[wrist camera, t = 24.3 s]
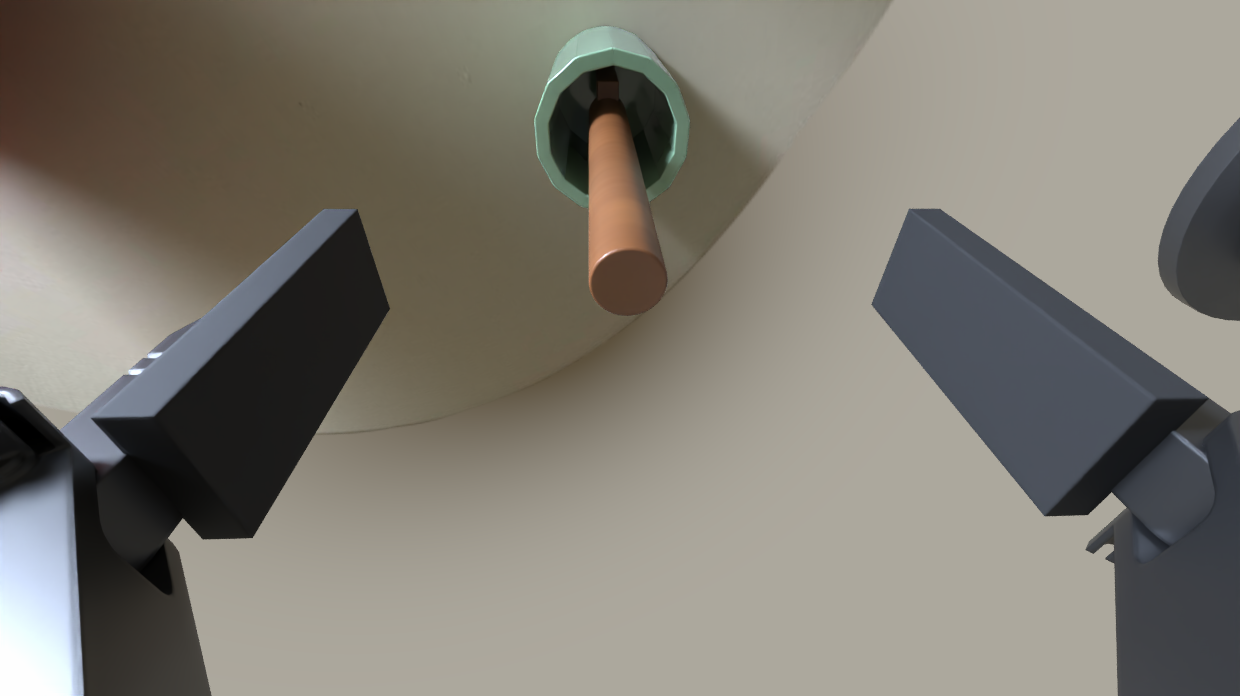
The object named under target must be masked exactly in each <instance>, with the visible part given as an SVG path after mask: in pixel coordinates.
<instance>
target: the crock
mask: <svg viewBox="0 0 1240 696" xmlns="http://www.w3.org/2000/svg"><path fill="white" fill-rule="evenodd" d="M610 66H615V68H616V72H617V76H618V80H619V99H620V100H621V101H622V102H623V104H624V106H625V109H626V113H627V117H628V121H629V125H630V129H631V133H632V137H633V141H634V145H635V149H636V153H637V157H638V161H639V165H640V169H641V173H642V176H643V180H644V184H645V188H646V192H647V196H648V200H649V202H650V201H652V200H653V199H654V198H656V197H657V196H658V195H660V194H661V193H662V192H664V191H665V190H666V189H668V188H669V186H671V184H672V182H673V180H674V178H675V177H676V175H677V173H678V171H679V170H680V168H681V166H682V164H683V162H684V161H685V159H686V156H687V149H688V139H689V129H690V118H689V115H688V112H687V109H686V106H685V103H684V100H683V97H682V95H681V92H680V89H679V86H678V85H677V83H676V81H675V80H674V79H673V77H672V76H671V75H670V73H669V72H668V71H667V69H666V68H665V67H664V65H663V64H662V62H661V61H660V60H659V58H658V57H657V56H656V54H655V53H654V52H653V51H652V50H651V49H650V48H649V47H648V46H647V45H646V44H645V43H644V42H643V41H642V40H641V39H640V38H639V37H638V36H637V35H635V34H634V33H631V32H629V31H627V30H624V29H622V28H618V27H612V26H598V27H594V28H590V29H587V30H585V31H583V32H580V33H579V34H577V35H576V36H574V37H573V38H572V39H571V40H569V42H568V43H567V44H566V45H565V46H564V47H563V48H562V50H561V51H559V52H558V54H557V56H556V59H555V62H554V64H553V67H552V70H551V73H550V75H549V78H548V81H547V84H546V87H545V89H544V92H543V95H542V98H541V101H540V104H539V107H538V109H537V112H536V115H535V120H534V126H535V137H536V149H537V156H538V159H539V161H540V163H541V164H542V166H543V168H544V170H545V172H546V173H547V175H548V177H549V179H550V180H551V182H552V184H553V186H554V187H555V188H556V189H557V190H559V191H560V192H562V193H563V194H564V195H566V196H567V197H568V198H570V199H571V200H572V201H574V202H575V203H576V204H578V205H579V206H581V207H584V208H588V209H589V108H590V105H591V103H592V102H593V100H594V99H595V98H596V70H598V69H602V68H606V67H610Z"/></svg>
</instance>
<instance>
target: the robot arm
mask: <svg viewBox="0 0 1240 696" xmlns="http://www.w3.org/2000/svg"><path fill="white" fill-rule="evenodd" d="M872 305H873V307H874V308H875V309H876V310H877V312H878V313H879V314H880V316H881V317H882V318H883V319H884V320H885V321H886V323H887V324H888V325H889V326H890V328H891V329H892V330H893V331H894V332H895V334H896V335H897V336H898V337H899V339H900V340H901V341H902V342H903V343H904V345H905V346H906V347H907V349H908V350H909V351H910V352H911V353H912V355H913V356H914V357H915V358H916V359H917V360H918V362H919V363H920V364H921V366H922V367H923V368H924V369H925V371H926V372H927V373H928V374H929V375H930V377H931V378H932V379H933V380H934V382H935V383H936V384H937V385H938V386H939V388H940V389H941V390H942V391H943V393H944V394H945V395H946V396H947V397H948V399H949V400H950V401H951V402H952V404H953V405H954V406H955V407H956V408H957V410H958V411H959V412H960V413H961V415H962V416H963V417H964V418H965V419H966V421H967V422H968V423H969V424H970V426H971V427H972V428H973V429H974V430H975V432H976V433H977V434H978V435H979V437H980V438H981V439H982V440H983V441H984V443H985V444H986V445H987V446H988V448H989V449H990V450H991V451H992V452H993V454H994V455H995V456H996V457H997V459H998V460H999V461H1000V462H1001V464H1002V465H1003V466H1004V467H1005V468H1006V470H1007V471H1008V472H1009V473H1010V475H1011V476H1012V477H1013V478H1014V479H1015V481H1016V482H1017V483H1018V484H1019V485H1020V487H1021V488H1022V489H1023V490H1024V492H1025V493H1026V494H1027V495H1028V496H1029V498H1030V499H1031V500H1032V501H1033V503H1034V504H1035V505H1036V506H1037V508H1038V509H1039V510H1040V511H1041V512H1042V514H1043V515H1044V516H1070V515H1071V516H1072V515H1088V514H1089V513H1090V512H1091V511H1092V510H1093V509H1094V508H1096V507H1097V506H1098V505H1099V504H1100V503H1101V502H1102V501H1103V500H1104V499H1105V498H1106V497H1107V496H1108V495H1109V494H1110V493H1111V492H1112V493H1113V494H1114V495H1115V496H1116V497H1117V498H1118V499H1119V500H1120V501H1121V502H1122V503H1123V504H1124V505H1125V506H1126V507H1127V508H1126V509H1125V510H1124V511H1123V512H1121V513H1120V514H1119V515H1118V516H1117V517H1116V518H1115V519H1114V520H1113V521H1111V522H1110V523H1109V524H1108V525H1107V526H1106V527H1105V528H1104V529H1103V530H1101V531H1100V532H1099V533H1098V534H1097V535H1096V536H1095V537H1094V538H1093V539H1091V540H1090V541H1089V543H1088V545H1087V548H1086V550H1087V551H1089V552H1091V553H1093V554H1094V553H1095V552H1096V551H1097V550H1098V549H1099V548H1101V547H1102V546H1103V545H1104V544H1113V545H1114V551H1113V552H1112V553H1111V554H1109V555H1108V556H1107V557H1106V560H1108V561H1110V562H1112V563H1114V564H1115V603H1116V638H1117V639H1116V640H1117V678H1118V696H1240V411H1237V412H1234V413H1229V412H1228V411H1227V410H1225V409H1224V408H1222V407H1221V406H1219V405H1218V404H1216V403H1215V402H1214V401H1212V400H1211V399H1209V398H1208V397H1207V396H1205V395H1204V394H1202V393H1201V392H1200V391H1198V390H1196V389H1195V388H1194V387H1193V386H1191V385H1189V384H1188V383H1187V382H1185V381H1184V380H1183V379H1181V378H1180V377H1178V376H1177V375H1175V374H1174V373H1173V372H1171V371H1170V370H1168V369H1167V368H1165V367H1164V366H1163V365H1161V364H1160V363H1158V362H1157V361H1156V360H1154V359H1153V358H1151V357H1149V356H1148V355H1147V354H1145V353H1144V352H1143V351H1141V350H1140V349H1138V348H1137V347H1136V346H1134V345H1133V344H1131V343H1130V342H1129V341H1127V340H1126V339H1124V338H1123V337H1121V336H1120V335H1119V334H1117V333H1116V332H1114V331H1113V330H1111V329H1110V328H1109V327H1107V326H1106V325H1104V324H1103V323H1101V322H1100V321H1099V320H1097V319H1096V318H1094V317H1093V316H1092V315H1090V314H1089V313H1087V312H1086V311H1084V310H1083V309H1082V308H1080V307H1079V306H1077V305H1076V304H1074V303H1073V302H1072V301H1070V300H1069V299H1067V298H1066V297H1065V296H1063V295H1062V294H1060V293H1059V292H1057V291H1056V290H1055V289H1053V288H1052V287H1050V286H1049V285H1047V284H1046V283H1045V282H1043V281H1042V280H1040V279H1039V278H1037V277H1036V276H1035V275H1033V274H1032V273H1030V272H1029V271H1028V270H1026V269H1025V268H1023V267H1022V266H1020V265H1019V264H1018V263H1016V262H1015V261H1013V260H1012V259H1010V258H1009V257H1007V256H1006V255H1005V254H1003V253H1002V252H1000V251H999V250H998V249H996V248H995V247H993V246H992V245H990V244H989V243H988V242H986V241H985V240H983V239H982V238H980V237H979V236H978V235H976V234H975V233H973V232H972V231H970V230H969V229H968V228H966V227H965V226H964V225H962V224H961V223H959V222H958V221H956V220H955V219H954V218H952V217H951V216H949V215H948V214H946V213H945V212H943V211H942V210H941V209H909V211H908V213H907V216H906V218H905V221H904V223H903V226H902V228H901V231H900V233H899V236H898V239H897V241H896V243H895V246H894V249H893V251H892V254H891V257H890V259H889V261H888V264H887V267H886V269H885V272H884V274H883V277H882V279H881V282H880V284H879V287H878V289H877V292H876V295H875V297H874V299H873V302H872ZM389 309H390V307H389V304H388V301H387V298H386V295H385V292H384V289H383V286H382V283H381V280H380V277H379V274H378V271H377V267H376V264H375V261H374V258H373V255H372V252H371V249H370V246H369V243H368V240H367V237H366V234H365V231H364V228H363V225H362V221H361V218H360V215H359V212H358V209H323V210H322V211H321V212H320V213H319V214H318V215H316V216H315V217H314V218H313V219H312V220H311V221H310V222H309V223H308V224H306V225H305V226H304V227H303V228H302V229H301V230H300V231H299V232H297V233H296V234H295V235H294V236H293V237H292V238H291V239H290V240H288V241H287V242H286V243H285V244H284V245H283V246H282V247H281V248H280V249H278V250H277V251H276V252H275V253H274V254H273V255H272V256H271V257H269V258H268V259H267V260H266V261H265V262H264V263H263V264H262V265H261V266H259V267H258V268H257V269H256V270H255V271H254V272H253V273H252V274H250V275H249V276H248V277H247V278H246V279H245V280H244V281H243V282H242V283H240V284H239V285H238V286H237V287H236V288H235V289H234V290H233V291H231V292H230V293H229V294H228V295H227V296H226V297H225V298H224V299H222V300H221V301H220V302H219V303H218V304H217V305H216V306H215V307H214V308H212V309H211V310H210V311H209V312H208V313H207V314H206V315H205V316H203V317H202V318H200V319H198V320H196V321H195V322H193V323H191V324H189V325H187V326H185V327H184V328H182V329H180V330H178V331H176V332H174V333H173V334H171V335H169V336H168V337H167V338H166V339H165V340H163V341H162V342H161V343H160V344H159V345H158V346H156V347H155V348H154V349H153V350H152V351H151V352H150V353H148V354H147V355H148V358H143V359H141V360H140V361H139V362H138V363H137V364H136V365H135V366H133V367H132V368H131V369H130V370H129V375H123V376H122V377H121V378H120V379H118V380H117V381H116V382H115V383H114V384H113V385H111V386H110V387H109V388H108V389H107V390H106V391H105V392H103V393H102V394H101V395H100V396H99V397H98V398H96V399H95V400H94V401H93V402H92V403H91V404H90V405H88V406H87V407H86V408H85V409H84V410H83V411H81V412H80V413H79V414H78V415H77V416H76V417H75V418H73V419H72V420H71V421H70V422H69V423H68V424H67V425H66V426H64V427H63V428H62V429H61V430H58V429H57V428H56V427H55V426H54V425H53V424H52V423H51V422H50V421H49V420H48V419H47V418H46V417H45V416H44V415H43V414H42V413H41V412H40V411H39V410H38V409H37V408H36V407H35V406H34V405H33V404H32V403H31V402H30V401H29V400H28V399H27V398H26V397H25V396H24V395H23V394H22V393H21V392H20V391H19V390H16V389H12V388H8V387H0V696H211V691H210V687H209V683H208V679H207V674H206V670H205V665H204V661H203V656H202V652H201V647H200V643H199V639H198V634H197V630H196V625H195V621H194V616H193V612H192V607H191V603H190V599H189V594H188V590H187V586H186V581H185V577H184V572H183V568H182V563H181V559H180V555H179V552H178V550H177V549H176V547H175V546H174V544H173V543H172V542H171V541H170V540H169V539H168V537H169V536H170V534H171V533H172V532H173V530H174V529H175V528H176V526H177V525H178V524H179V522H180V521H181V520H182V518H183V519H185V521H186V522H187V523H188V524H189V525H190V526H191V527H192V528H193V529H194V530H195V531H196V532H197V534H198V535H199V536H200V537H201V538H202V539H237V538H253V536H254V535H255V533H256V531H257V530H258V528H259V526H260V524H261V523H262V521H263V520H264V518H265V516H266V515H267V513H268V511H269V510H270V508H271V506H272V505H273V503H274V501H275V500H276V498H277V496H278V495H279V493H280V491H281V490H282V488H283V486H284V485H285V483H286V481H287V480H288V478H289V476H290V475H291V473H292V471H293V470H294V468H295V466H296V465H297V463H298V461H299V460H300V458H301V456H302V455H303V453H304V451H305V450H306V448H307V446H308V445H309V443H310V441H311V440H312V438H313V436H314V435H315V433H316V431H317V430H318V428H319V426H320V425H321V423H322V421H323V420H324V418H325V416H326V415H327V413H328V411H329V410H330V408H331V406H332V405H333V403H334V401H335V400H336V398H337V396H338V395H339V393H340V391H341V390H342V388H343V386H344V385H345V383H346V381H347V380H348V378H349V376H350V375H351V373H352V371H353V370H354V368H355V366H356V365H357V363H358V361H359V360H360V358H361V356H362V355H363V353H364V351H365V350H366V348H367V346H368V345H369V343H370V341H371V340H372V338H373V336H374V335H375V333H376V331H377V330H378V328H379V326H380V325H381V323H382V321H383V319H384V318H385V316H386V314H387V313H388V311H389Z"/></svg>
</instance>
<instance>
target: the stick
mask: <svg viewBox="0 0 1240 696" xmlns="http://www.w3.org/2000/svg"><path fill="white" fill-rule="evenodd" d="M667 282H668V277H667V272H666V268H665V264H664V260H663V256H662V252H661V248H660V244H659V240H658V236H657V232H656V228H655V224H654V220H653V216H652V212H651V208H650V204H649V200H648V196H647V192H646V188H645V184H644V180H643V176H642V173H641V169H640V165H639V161H638V157H637V153H636V149H635V145H634V141H633V137H632V133H631V129H630V125H629V121H628V117H627V113H626V109H625V106H624V104H623V102H622V101H621V100H620V99H619V80H618V76H617V72H616V68H615V66H610V67H606V68H602V69H598V70H596V98H595V99H594V100H593V102H592V103H591V105H590V108H589V288H590V292H591V294H592V297H593V298H594V300H595V301H596V302H597V303H598V304H599V305H600V306H601V307H602V308H603V309H605V310H607V311H608V312H611V313H613V314H617V315H622V316H631V315H637V314H641V313H643V312H646V311H648V310H649V309H651V308H652V307H654V306H655V305H656V304H657V303H658V302H659V301H660V300H661V298H662V297H663V295H664V293H665V291H666V287H667Z"/></svg>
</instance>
